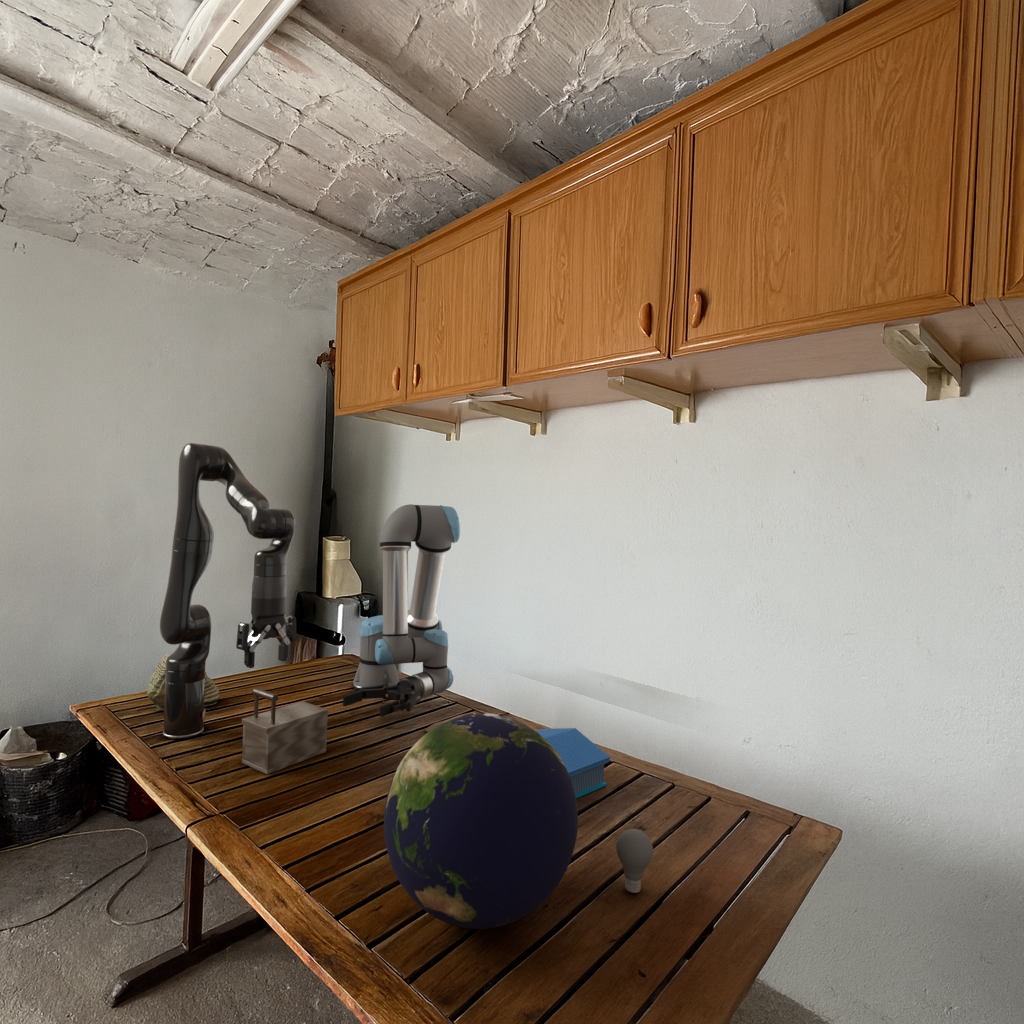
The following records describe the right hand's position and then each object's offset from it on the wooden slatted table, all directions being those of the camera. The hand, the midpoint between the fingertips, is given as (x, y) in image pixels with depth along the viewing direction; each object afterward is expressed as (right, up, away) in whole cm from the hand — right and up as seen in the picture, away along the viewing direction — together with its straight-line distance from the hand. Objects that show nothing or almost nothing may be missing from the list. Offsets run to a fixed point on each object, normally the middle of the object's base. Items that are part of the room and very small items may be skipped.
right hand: (362, 706), depth 170 cm
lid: (-14, +3, -18) cm, 23 cm away
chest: (-14, -7, -17) cm, 24 cm away
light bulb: (+61, -11, -65) cm, 89 cm away
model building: (+42, -10, -32) cm, 53 cm away
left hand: (-17, +17, -23) cm, 33 cm away
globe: (+35, -10, -71) cm, 80 cm away
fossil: (-56, -5, +15) cm, 58 cm away
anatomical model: (+24, -8, +5) cm, 25 cm away
